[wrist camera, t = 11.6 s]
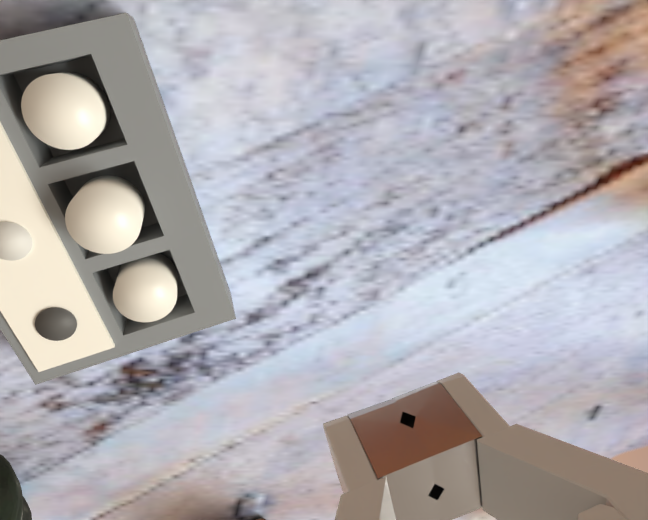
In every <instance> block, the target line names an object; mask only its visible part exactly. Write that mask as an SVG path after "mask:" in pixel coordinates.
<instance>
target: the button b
mask: <svg viewBox="0 0 648 520" xmlns="http://www.w3.org/2000/svg"><path fill="white" fill-rule="evenodd" d="M144 214H145V204H144V200H143V197H142V195H141V193H140V192H139V190H138V189H137V188H136V187H135V186H134V185H133V184H132V183H130V182H129V181H127V180H125V179H123V178H120V177H117V176H109V175H106V176H99V177H95V178H93V179H91V180H89V181H88V182H86V183H85V184H84V185H83V186H82V187H81V189H80V190H79V191H78V192H77V194H76V195H75V196H74V198H73V199H72V200H71V201H70V203H69V205H68V207H67V209H66V213H65V223H66V227H67V230H68V232H69V234H70V235H71V237H72V238H73V239H74V240H75V241H76V242H77V243H78V244H79V245H80V246H82V247H83V248H85V249H87V250H89V251H92V252H95V253H100V254H112V253H117V252H120V251H123V250H125V249H127V248H128V247H130V246H131V245H132V244H133V243H134V242H135V241H136V239H137V238H138V236H139V233H140V230H141V226H142V222H143V218H144Z"/></svg>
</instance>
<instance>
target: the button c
mask: <svg viewBox="0 0 648 520" xmlns="http://www.w3.org/2000/svg"><path fill="white" fill-rule="evenodd" d="M177 281H178V275H177V270H176V268H175V266H174V264H173V263H172V262H171V260H169V259H168V258H167V257H166V256H164V255H162V254H160V253H157V254H154V255H150V256H147V257H144V258H140V259H137V260H134V261H130V262H127V263H124V264H122V265H121V267H120V269H119V273H118V276H117V279H116V283H115V286H114V289H113V301H114V304H115V306H116V308H117V309H118V311H119V312H120V313H121V314H122V315H124V316H125V317H127V318H128V319H131V320H133V321H137V322H153V321H157V320H159V319H162V318H163V317H165V316H166V315H168V314H169V313H170V312H171V311H172V309H173V308H174V306H175V304H176V301H177Z"/></svg>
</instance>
